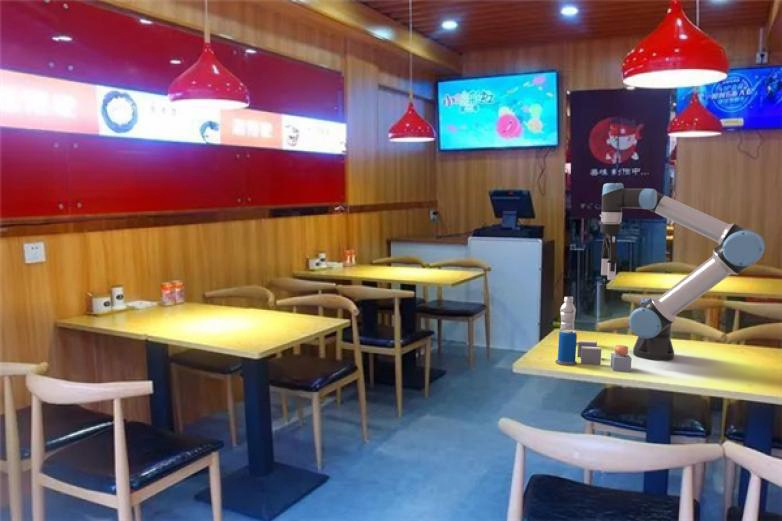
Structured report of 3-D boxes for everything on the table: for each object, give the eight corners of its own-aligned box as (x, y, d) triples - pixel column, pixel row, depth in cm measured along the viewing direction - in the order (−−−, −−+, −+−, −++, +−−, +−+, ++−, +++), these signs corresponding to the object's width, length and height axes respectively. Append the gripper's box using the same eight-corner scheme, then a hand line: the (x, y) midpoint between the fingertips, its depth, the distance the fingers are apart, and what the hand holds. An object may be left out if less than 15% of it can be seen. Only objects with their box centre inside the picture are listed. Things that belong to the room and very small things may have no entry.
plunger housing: (627, 367, 229) (627, 354, 228) (630, 371, 223) (631, 358, 222) (610, 366, 230) (611, 353, 229) (613, 370, 224) (614, 357, 223)
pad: (575, 360, 237) (575, 359, 237) (578, 366, 229) (578, 365, 229) (554, 359, 238) (554, 358, 238) (556, 365, 230) (556, 364, 230)
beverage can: (574, 365, 229) (576, 333, 228) (556, 362, 231) (558, 331, 230) (576, 360, 235) (577, 330, 234) (558, 358, 237) (560, 328, 236)
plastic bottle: (575, 345, 260) (577, 299, 258) (559, 344, 262) (561, 298, 259) (574, 341, 266) (576, 296, 264) (558, 340, 268) (560, 295, 266)
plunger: (625, 364, 228) (626, 345, 227) (628, 368, 224) (629, 348, 223) (613, 364, 229) (614, 344, 228) (615, 367, 224) (616, 347, 224)
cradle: (595, 357, 242) (596, 341, 241) (600, 365, 231) (601, 348, 230) (577, 356, 243) (577, 340, 242) (581, 364, 232) (582, 347, 231)
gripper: (595, 221, 250) (592, 272, 253) (606, 224, 226) (603, 281, 228) (614, 221, 249) (611, 273, 251) (628, 225, 225) (624, 282, 227)
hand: (607, 277), depth 240 cm, fingers open, 13 cm apart
